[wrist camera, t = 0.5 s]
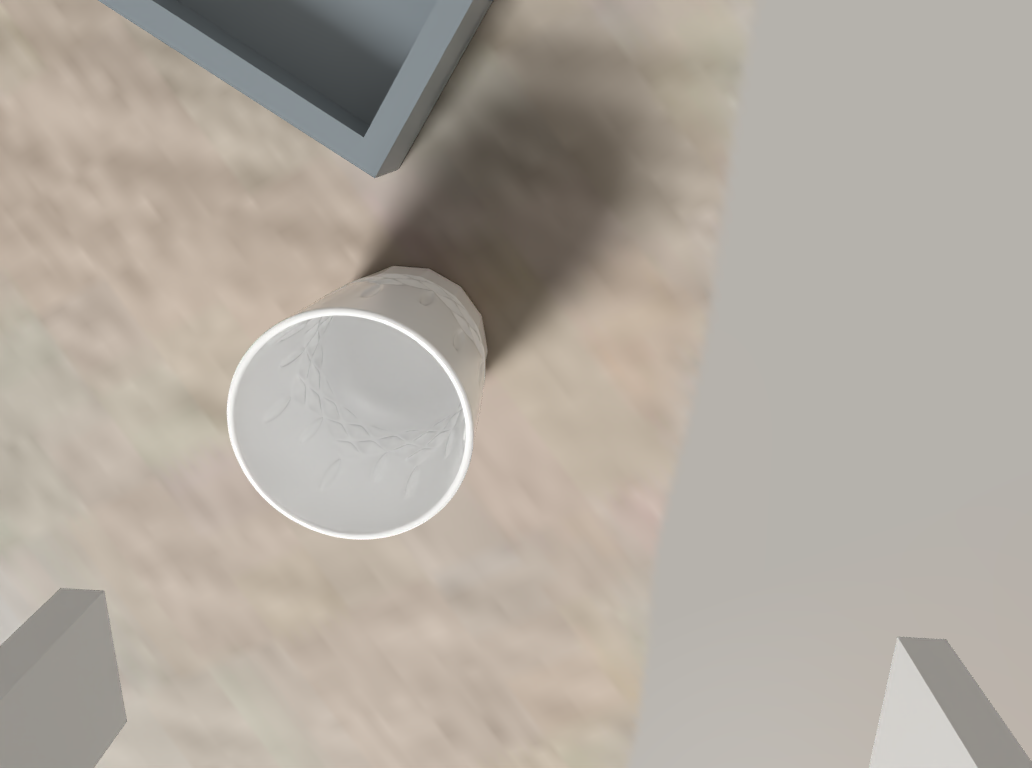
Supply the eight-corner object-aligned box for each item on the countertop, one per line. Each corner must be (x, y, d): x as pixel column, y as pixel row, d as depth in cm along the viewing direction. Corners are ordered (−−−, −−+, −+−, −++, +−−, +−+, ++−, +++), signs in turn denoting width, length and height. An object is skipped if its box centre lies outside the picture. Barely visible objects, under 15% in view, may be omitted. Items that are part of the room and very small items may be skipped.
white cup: (367, 449, 37) (295, 569, 27) (289, 290, 34) (181, 360, 25) (528, 392, 35) (511, 497, 26) (457, 222, 33) (410, 269, 23)
